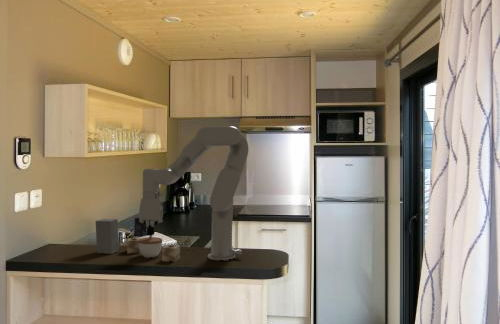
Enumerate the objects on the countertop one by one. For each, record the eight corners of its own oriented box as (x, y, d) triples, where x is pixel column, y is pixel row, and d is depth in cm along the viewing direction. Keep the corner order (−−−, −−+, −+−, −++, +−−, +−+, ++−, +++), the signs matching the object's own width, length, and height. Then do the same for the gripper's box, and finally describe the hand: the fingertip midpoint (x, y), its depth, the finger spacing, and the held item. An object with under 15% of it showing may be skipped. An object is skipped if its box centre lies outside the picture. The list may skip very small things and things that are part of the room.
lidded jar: (150, 252, 197) (150, 232, 197) (166, 255, 192) (167, 235, 192) (133, 256, 188) (133, 236, 188) (150, 260, 182) (150, 239, 182)
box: (141, 236, 235) (141, 218, 235) (133, 235, 238) (133, 217, 238) (155, 234, 244) (155, 216, 244) (147, 232, 247) (147, 215, 247)
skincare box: (119, 251, 198) (119, 218, 198) (110, 254, 191) (110, 220, 191) (103, 250, 200) (104, 217, 200) (94, 253, 193) (95, 219, 193)
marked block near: (179, 258, 186) (180, 245, 186) (174, 262, 180) (175, 247, 180) (167, 257, 187) (167, 244, 187) (162, 261, 181) (162, 247, 181)
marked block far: (140, 250, 202) (140, 237, 202) (140, 252, 196) (140, 240, 196) (127, 250, 200) (128, 237, 200) (127, 253, 194) (127, 240, 194)
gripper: (169, 194, 193) (168, 233, 193) (137, 194, 194) (137, 233, 194) (165, 196, 186) (165, 236, 186) (132, 196, 186) (132, 236, 186)
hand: (150, 235), depth 190 cm, fingers closed
